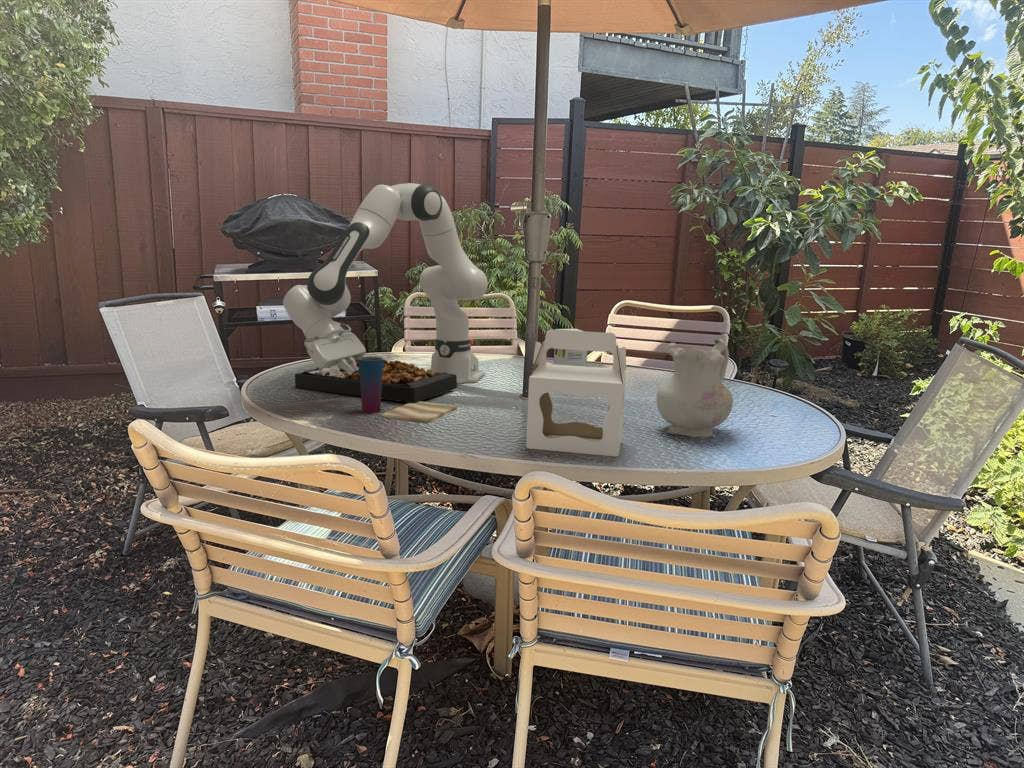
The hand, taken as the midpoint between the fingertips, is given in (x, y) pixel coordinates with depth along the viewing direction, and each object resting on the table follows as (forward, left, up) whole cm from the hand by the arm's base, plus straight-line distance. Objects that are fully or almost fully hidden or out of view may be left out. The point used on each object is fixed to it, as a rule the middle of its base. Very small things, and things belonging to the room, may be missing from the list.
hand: (354, 372), depth 195 cm
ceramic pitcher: (-22, +91, -11) cm, 95 cm away
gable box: (+5, +66, -11) cm, 67 cm away
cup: (0, +5, -11) cm, 12 cm away
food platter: (-25, -9, -10) cm, 28 cm away
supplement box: (-80, +39, -11) cm, 90 cm away
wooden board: (-5, +18, -10) cm, 22 cm away
